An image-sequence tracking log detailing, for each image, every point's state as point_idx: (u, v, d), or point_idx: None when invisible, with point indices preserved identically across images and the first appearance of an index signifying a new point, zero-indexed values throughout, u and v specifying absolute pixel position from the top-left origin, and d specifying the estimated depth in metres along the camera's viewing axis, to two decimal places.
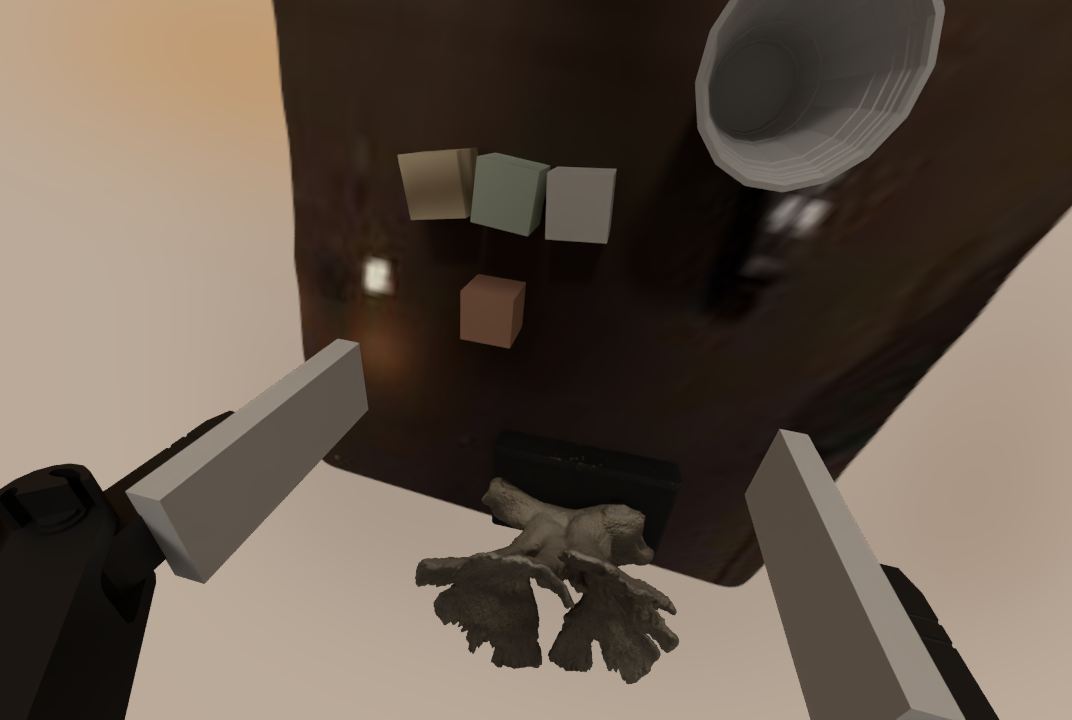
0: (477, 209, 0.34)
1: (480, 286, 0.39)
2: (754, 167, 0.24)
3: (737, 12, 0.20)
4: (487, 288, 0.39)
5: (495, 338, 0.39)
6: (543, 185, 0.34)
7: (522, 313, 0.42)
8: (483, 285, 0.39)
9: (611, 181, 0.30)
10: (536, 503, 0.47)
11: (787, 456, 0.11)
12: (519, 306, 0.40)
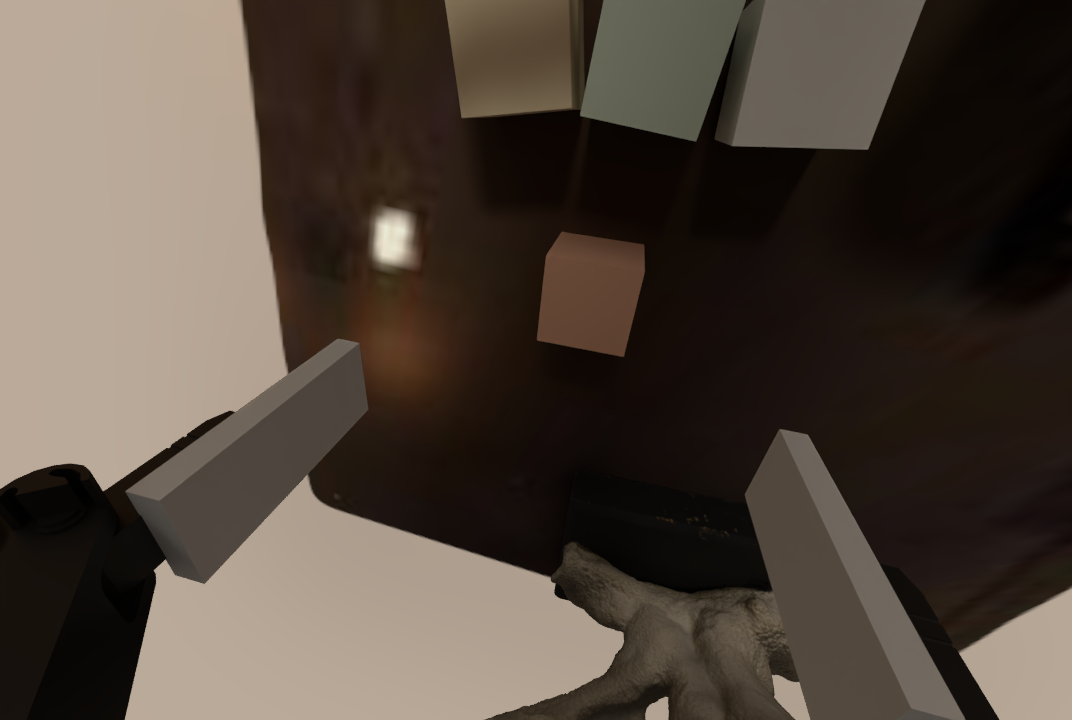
0: (597, 86, 0.17)
1: (574, 249, 0.22)
2: None
3: None
4: (589, 252, 0.22)
5: (600, 339, 0.23)
6: None
7: None
8: (578, 248, 0.23)
9: None
10: (635, 587, 0.31)
11: (787, 456, 0.11)
12: None
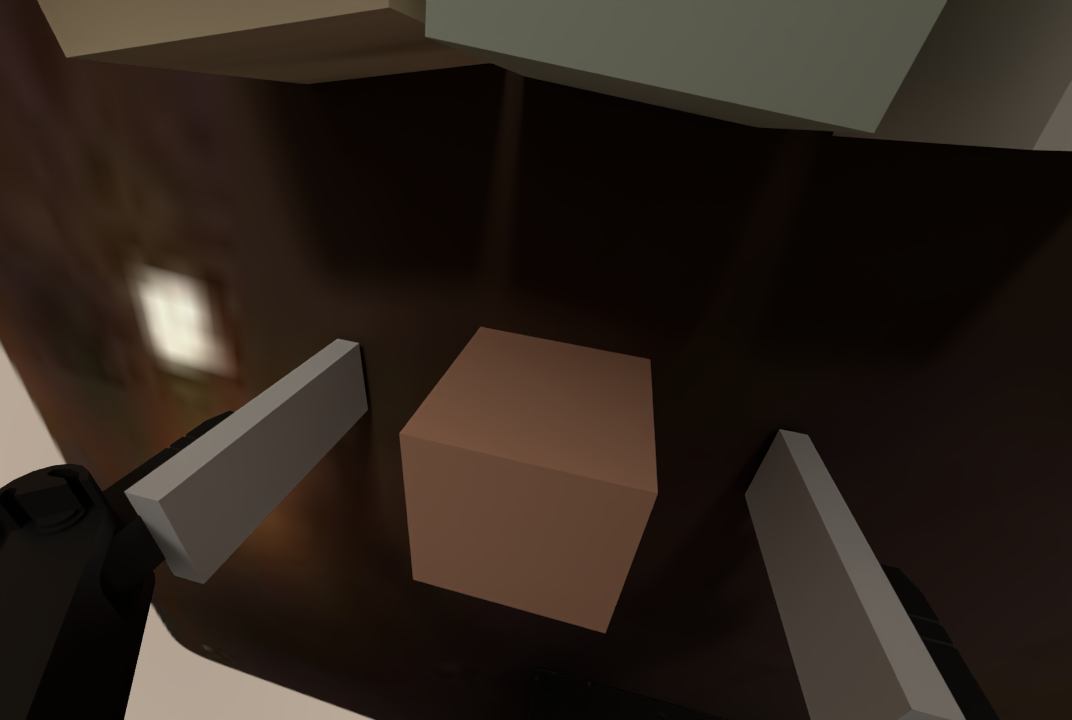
0: None
1: (488, 396, 0.09)
2: None
3: None
4: (520, 404, 0.09)
5: (550, 599, 0.10)
6: None
7: None
8: (500, 388, 0.10)
9: None
10: None
11: (787, 456, 0.11)
12: None
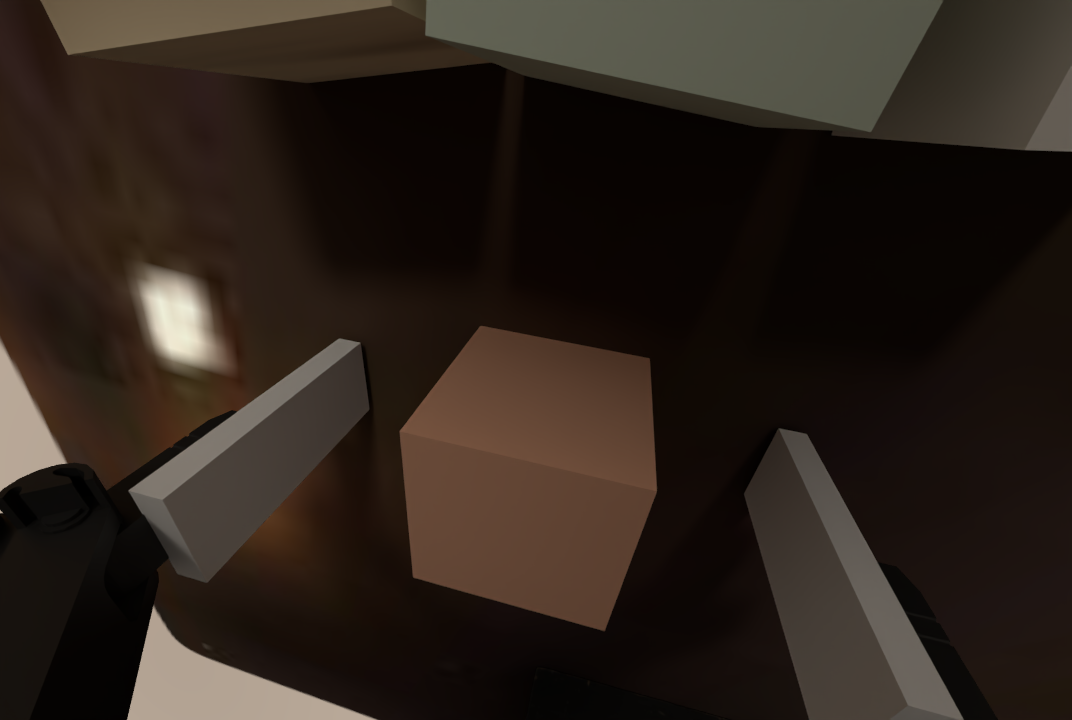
0: None
1: (488, 394, 0.09)
2: None
3: None
4: (520, 402, 0.09)
5: (549, 597, 0.10)
6: None
7: None
8: (500, 387, 0.10)
9: None
10: None
11: (786, 455, 0.11)
12: None
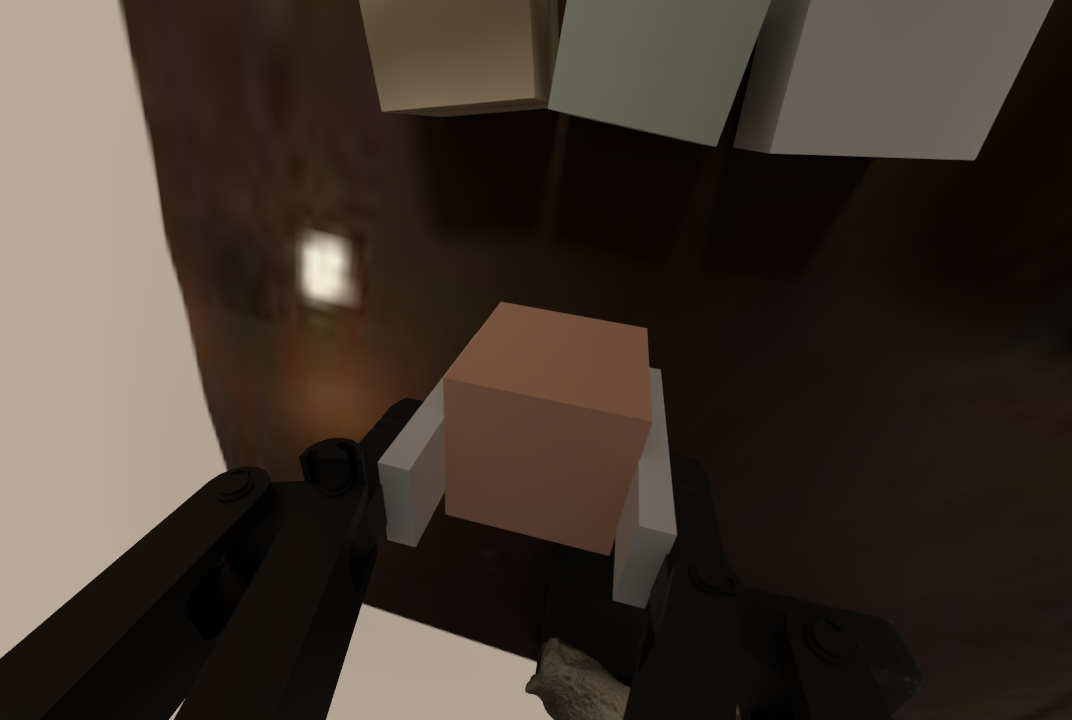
0: (571, 66, 0.12)
1: (511, 353, 0.11)
2: None
3: None
4: (539, 359, 0.11)
5: (563, 525, 0.12)
6: None
7: None
8: (521, 348, 0.12)
9: None
10: None
11: None
12: None
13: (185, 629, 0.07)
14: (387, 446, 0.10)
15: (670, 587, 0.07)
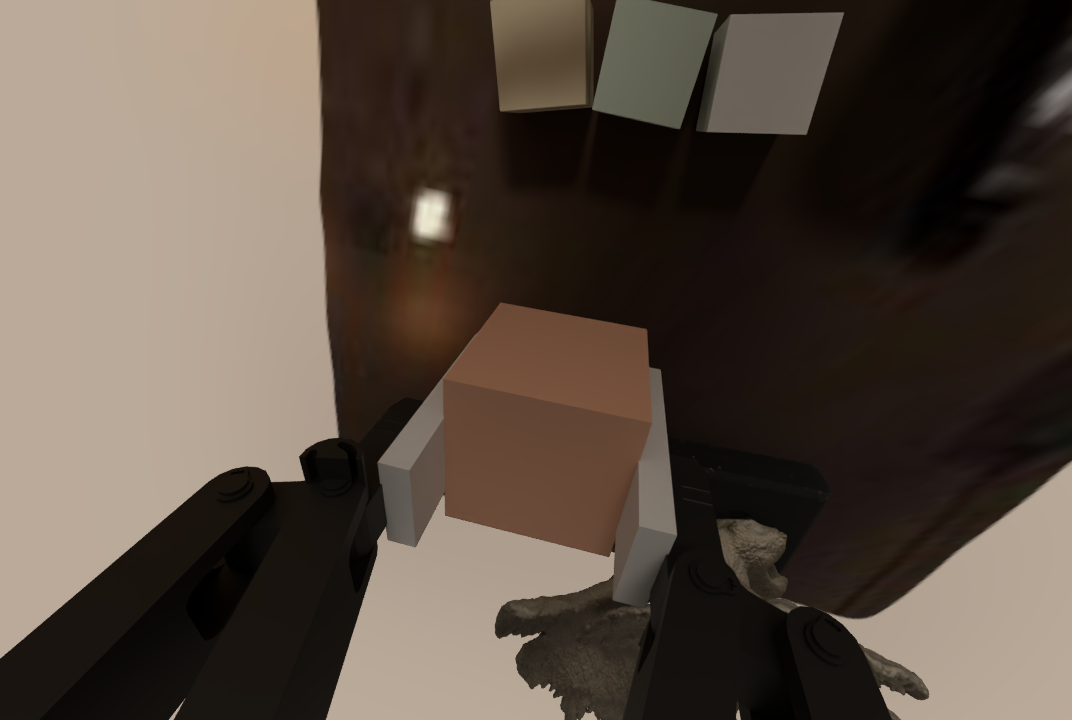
0: (605, 87, 0.22)
1: (511, 354, 0.11)
2: None
3: None
4: (538, 361, 0.11)
5: (562, 527, 0.12)
6: None
7: None
8: (521, 349, 0.12)
9: (837, 24, 0.19)
10: None
11: None
12: None
13: (185, 629, 0.07)
14: (387, 446, 0.10)
15: (670, 587, 0.07)
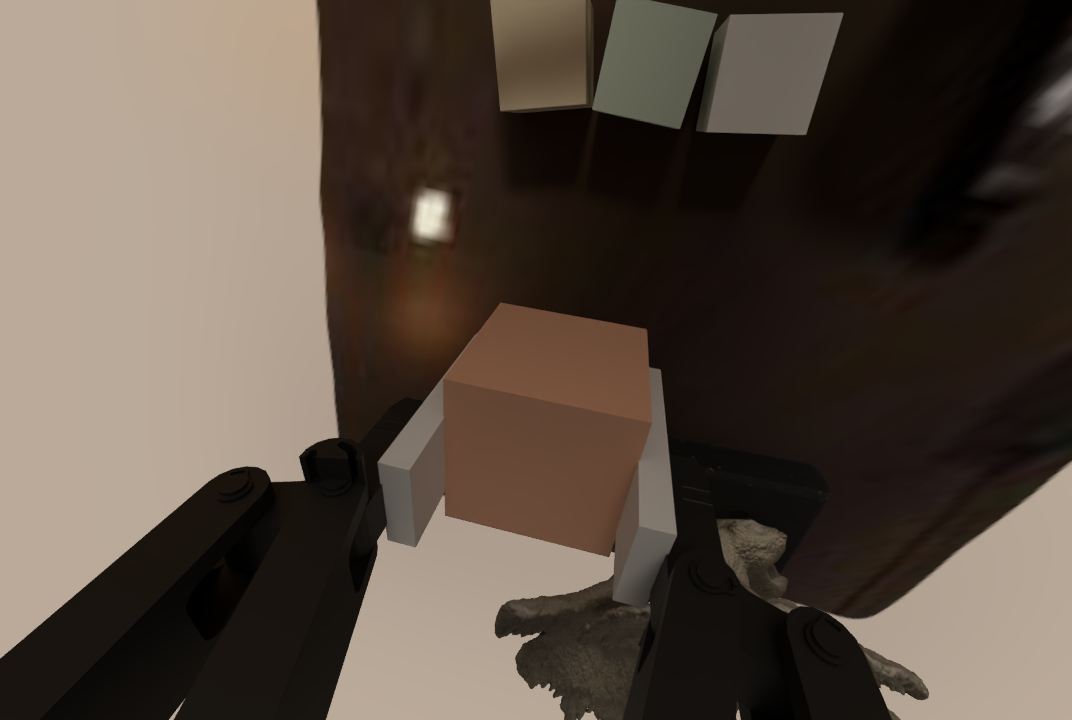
0: (605, 87, 0.22)
1: (511, 354, 0.11)
2: None
3: None
4: (538, 361, 0.11)
5: (562, 527, 0.12)
6: None
7: None
8: (521, 349, 0.12)
9: (837, 24, 0.19)
10: None
11: None
12: None
13: (185, 629, 0.07)
14: (387, 446, 0.10)
15: (670, 587, 0.07)
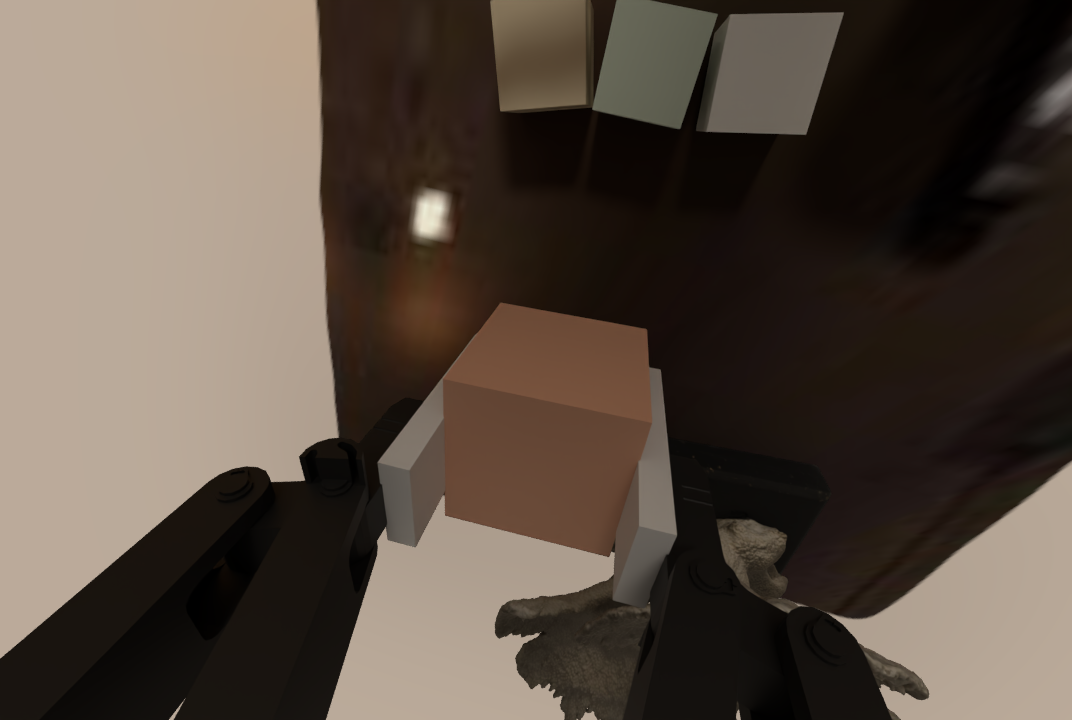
0: (605, 87, 0.22)
1: (511, 354, 0.11)
2: None
3: None
4: (538, 361, 0.11)
5: (562, 527, 0.12)
6: None
7: None
8: (521, 349, 0.12)
9: (837, 24, 0.19)
10: None
11: None
12: None
13: (185, 629, 0.07)
14: (387, 446, 0.10)
15: (670, 587, 0.07)
